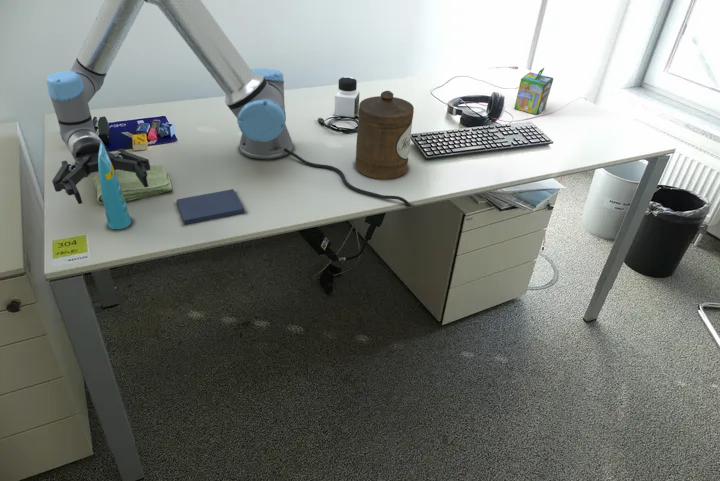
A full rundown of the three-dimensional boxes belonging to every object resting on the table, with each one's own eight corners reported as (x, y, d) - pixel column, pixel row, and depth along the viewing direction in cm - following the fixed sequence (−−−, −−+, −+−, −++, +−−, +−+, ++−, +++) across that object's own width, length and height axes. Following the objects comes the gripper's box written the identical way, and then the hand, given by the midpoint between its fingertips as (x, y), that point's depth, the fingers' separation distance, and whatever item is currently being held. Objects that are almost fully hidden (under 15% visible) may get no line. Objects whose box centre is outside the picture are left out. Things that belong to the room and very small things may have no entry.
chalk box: (522, 102, 196) (531, 62, 187) (545, 108, 192) (556, 68, 183) (512, 109, 190) (522, 68, 181) (537, 115, 186) (547, 74, 177)
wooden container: (411, 179, 143) (420, 102, 130) (357, 179, 141) (361, 101, 129) (403, 155, 155) (410, 82, 142) (353, 154, 153) (356, 81, 141)
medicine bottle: (354, 118, 176) (356, 83, 169) (334, 115, 177) (334, 80, 170) (358, 110, 182) (360, 76, 175) (339, 108, 183) (339, 74, 176)
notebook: (233, 193, 133) (233, 188, 132) (244, 212, 125) (243, 208, 125) (177, 203, 127) (176, 199, 127) (184, 224, 120) (184, 220, 120)
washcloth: (175, 193, 131) (173, 181, 129) (99, 208, 124) (96, 196, 122) (164, 170, 141) (162, 159, 139) (93, 183, 133) (90, 172, 132)
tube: (133, 230, 118) (113, 152, 106) (110, 234, 116) (87, 156, 105) (129, 213, 123) (110, 138, 112) (107, 217, 121) (85, 141, 110)
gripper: (145, 154, 133) (173, 189, 120) (36, 178, 121) (54, 221, 107) (139, 126, 129) (168, 160, 115) (25, 148, 117) (42, 189, 103)
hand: (113, 189), depth 111 cm, fingers open, 13 cm apart
